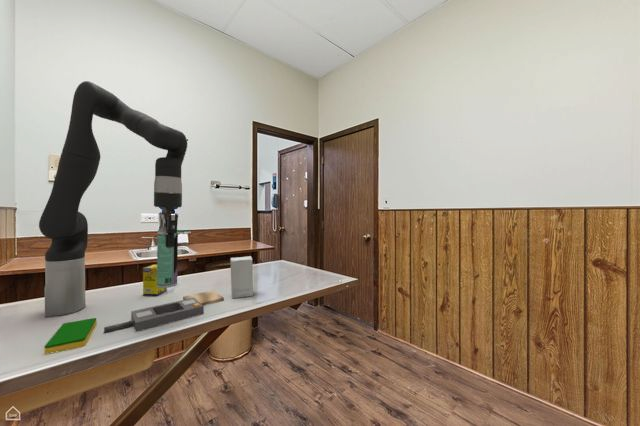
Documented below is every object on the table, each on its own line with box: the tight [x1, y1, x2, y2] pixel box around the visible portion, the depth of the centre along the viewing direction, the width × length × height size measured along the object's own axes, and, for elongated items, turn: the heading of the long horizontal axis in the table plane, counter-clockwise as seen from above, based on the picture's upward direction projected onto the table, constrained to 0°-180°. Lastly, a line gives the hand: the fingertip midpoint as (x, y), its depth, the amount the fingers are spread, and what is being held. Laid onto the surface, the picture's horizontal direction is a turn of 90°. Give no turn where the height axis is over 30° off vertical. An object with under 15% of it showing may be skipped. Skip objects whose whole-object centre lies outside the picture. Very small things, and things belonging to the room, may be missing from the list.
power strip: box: [103, 298, 205, 333], centre depth 78 cm, size 24×10×3 cm, turn 133°
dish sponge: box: [44, 317, 97, 355], centre depth 67 cm, size 7×14×2 cm, turn 32°
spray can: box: [156, 227, 179, 288], centre depth 79 cm, size 6×6×20 cm
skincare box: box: [230, 255, 254, 299], centre depth 100 cm, size 8×6×15 cm
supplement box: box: [142, 264, 168, 297], centre depth 100 cm, size 6×6×11 cm
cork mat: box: [182, 289, 225, 306], centre depth 94 cm, size 11×11×1 cm
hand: (167, 245), depth 79 cm, fingers closed on spray can, 5 cm apart
